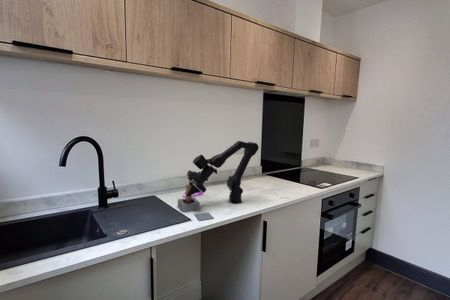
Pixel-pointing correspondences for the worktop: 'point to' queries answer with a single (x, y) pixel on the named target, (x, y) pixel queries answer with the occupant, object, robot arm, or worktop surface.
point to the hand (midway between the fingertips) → (186, 195)
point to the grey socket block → (188, 205)
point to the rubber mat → (204, 216)
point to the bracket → (194, 194)
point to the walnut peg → (188, 188)
